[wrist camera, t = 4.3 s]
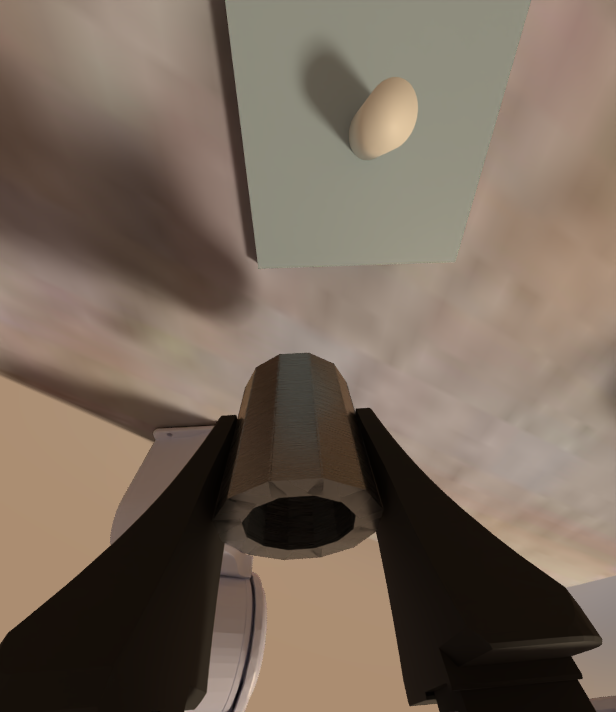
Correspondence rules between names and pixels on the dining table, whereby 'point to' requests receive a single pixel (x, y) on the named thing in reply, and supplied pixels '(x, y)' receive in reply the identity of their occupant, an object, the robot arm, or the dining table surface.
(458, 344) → the dining table surface
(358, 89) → the shaft plate
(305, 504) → the tube
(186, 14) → the dining table surface
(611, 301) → the dining table surface
